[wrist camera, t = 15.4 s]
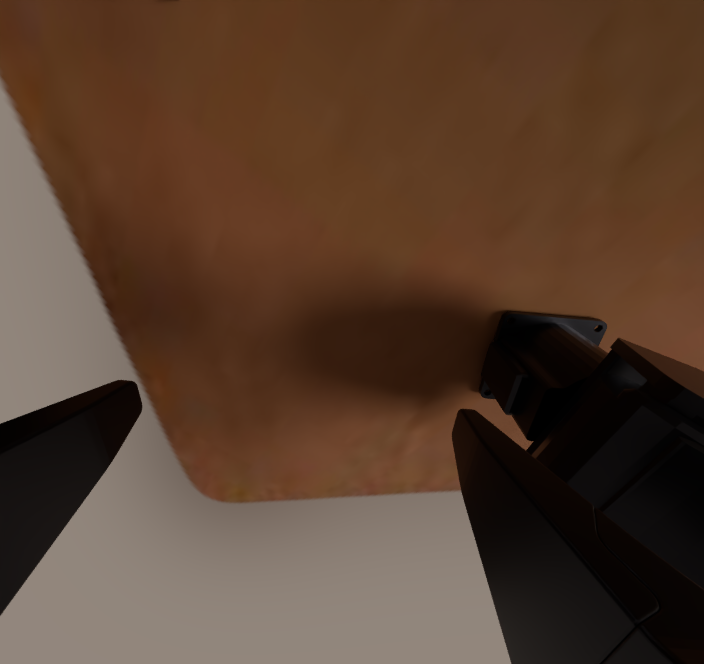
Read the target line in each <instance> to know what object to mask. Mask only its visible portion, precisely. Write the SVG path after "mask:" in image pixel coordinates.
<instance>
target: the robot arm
mask: <svg viewBox="0 0 704 664" xmlns="http://www.w3.org/2000/svg"><path fill="white" fill-rule="evenodd" d="M511 317H513V319H512V321H510V322H507V320H508V319H509V318H511ZM597 325H598V327H597V328H596V329H594V328H595V327H596V326H597ZM606 329H607V324H606V323H605V322H604V321H602V320H600V319H594V318H583V317H571V316H560V315H548V314H537V313H525V312H514V311H509V312H506V313H504V314H503V315H502V317H501V319H500V322H499V326H498V329H497V332H496V335H495V338H494V341H493V342H492V343H491V344H490V346H489V349H488V353H487V356H486V359H485V362H484V366H483V369H482V372H481V376H482V380H481V384H480V387H479V392H480V394H481V396H482V397H483V398H488V399H496V400H497V402H498V403H499V405H500V407H501V408H502V410H503V411H504V413H505V414H506V415H512V417H513V418H514V420H515V421H516V423H517V425H518V426H519V428H520V429H521V431H522V432H523V434H524V436H525V437H526V439H527V440H529V441H534V442H533V443H532V444H531V445H530V447H529V448H528V449H527V450H526V451H525V450H524V449H523V448H522V447H520V446H519V445H518V444H517V443H515V442H514V441H513V440H512V439H510V438H509V437H508V436H507V435H505V434H504V433H503V432H502V431H500V430H499V429H498V428H497V427H496V426H494V425H493V424H492V423H491V422H489V421H488V420H487V419H486V418H484V417H483V416H482V415H481V414H479V413H478V412H477V411H475V410H472V409H460V410H459V411H458V413H457V417H456V420H455V424H454V427H453V431H452V441H453V447H454V453H455V458H456V464H457V470H458V476H459V481H460V486H461V491H462V495H463V499H464V503H465V506H466V510H467V513H468V516H469V520H470V523H471V527H472V530H473V533H474V537H475V540H476V544H477V547H478V551H479V554H480V558H481V561H482V564H483V568H484V571H485V574H486V578H487V582H488V585H489V588H490V591H491V595H492V599H493V602H494V605H495V609H496V612H497V616H498V619H499V623H500V626H501V629H502V633H503V636H504V639H505V643H506V647H507V650H508V653H509V657H510V660H511V664H704V372H703V371H701V370H699V369H697V368H694V367H692V366H689V365H687V364H684V363H682V362H679V361H676V360H674V359H671V358H669V357H666V356H664V355H661V354H659V353H656V352H654V351H651V350H649V349H646V348H643V347H641V346H638V345H636V344H633V343H631V342H628V341H626V340H623V339H621V338H618V339H617V340H616V341H615V342H614V343H613V345H612V346H611V347H610V348H611V349H612V350H611V351H610V352H609V353H607V352H605V351H604V350H602V349H601V348H600V347H598V346H599V344H600V342H601V339H602V337H603V335H604V333H605V331H606ZM486 390H489V391H488V392H485V391H486ZM141 411H142V402H141V398H140V394H139V390H138V387H137V384H136V383H135V382H133V381H127V380H117V381H114V382H111V383H108V384H106V385H103V386H101V387H98V388H95V389H93V390H90V391H87V392H84V393H82V394H79V395H76V396H74V397H71V398H68V399H66V400H63V401H60V402H57V403H55V404H52V405H49V406H47V407H44V408H41V409H39V410H36V411H33V412H31V413H28V414H25V415H23V416H20V417H17V418H15V419H12V420H9V421H6V422H4V423H1V424H0V615H1V614H2V613H3V611H4V610H5V609H6V607H7V606H8V604H9V603H10V602H11V600H12V599H13V598H14V596H15V595H16V593H17V592H18V591H19V589H20V588H21V587H22V585H23V584H24V582H25V581H26V580H27V578H28V577H29V576H30V574H31V573H32V571H33V570H34V569H35V567H36V566H37V565H38V563H39V562H40V560H41V559H42V558H43V556H44V555H45V554H46V552H47V551H48V549H49V548H50V547H51V545H52V544H53V542H54V541H55V540H56V538H57V537H58V536H59V534H60V533H61V532H62V530H63V529H64V527H65V526H66V525H67V523H68V522H69V521H70V519H71V518H72V516H73V515H74V514H75V512H76V511H77V509H78V508H79V507H80V506H81V504H82V503H83V501H84V500H85V499H86V497H87V496H88V495H89V493H90V492H91V490H92V489H93V488H94V486H95V485H96V484H97V482H98V481H99V479H100V478H101V476H102V475H103V474H104V473H105V471H106V470H107V468H108V467H109V465H110V464H111V462H112V461H113V459H114V457H115V456H116V454H117V453H118V451H119V449H120V448H121V446H122V444H123V442H124V441H125V439H126V437H127V436H128V434H129V432H130V431H131V429H132V427H133V426H134V424H135V422H136V421H137V419H138V417H139V415H140V414H141Z"/></svg>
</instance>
